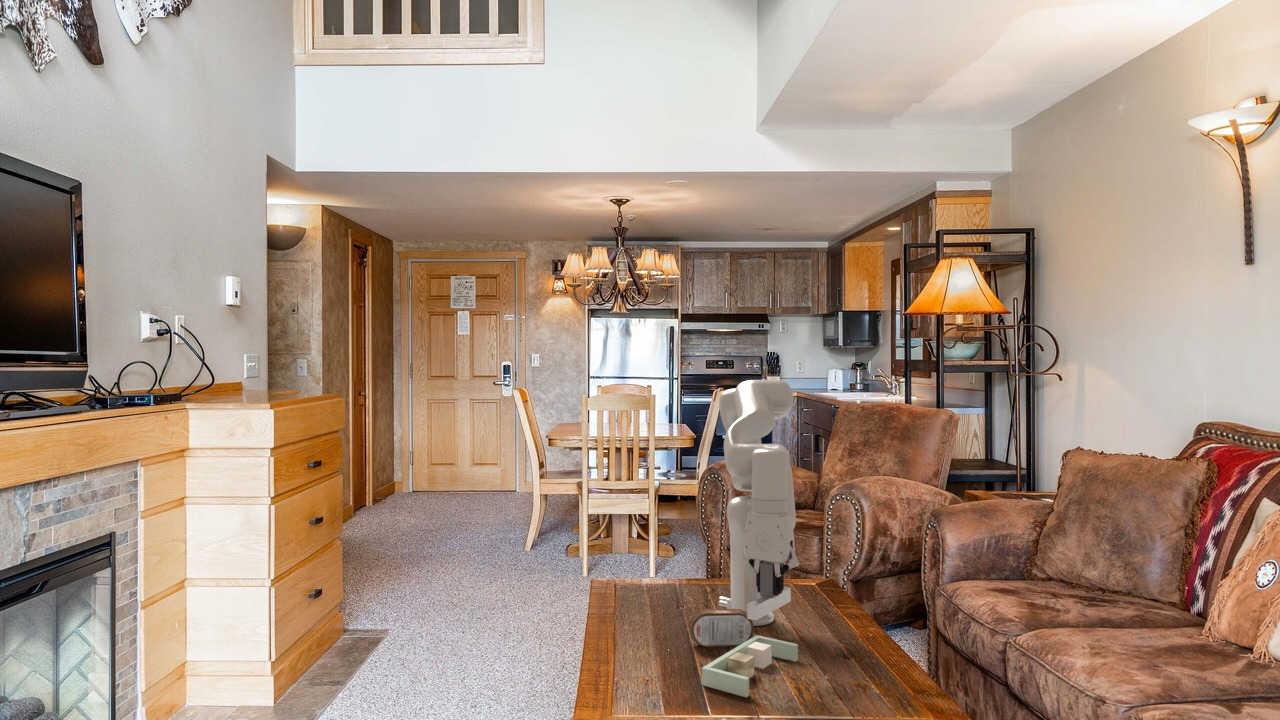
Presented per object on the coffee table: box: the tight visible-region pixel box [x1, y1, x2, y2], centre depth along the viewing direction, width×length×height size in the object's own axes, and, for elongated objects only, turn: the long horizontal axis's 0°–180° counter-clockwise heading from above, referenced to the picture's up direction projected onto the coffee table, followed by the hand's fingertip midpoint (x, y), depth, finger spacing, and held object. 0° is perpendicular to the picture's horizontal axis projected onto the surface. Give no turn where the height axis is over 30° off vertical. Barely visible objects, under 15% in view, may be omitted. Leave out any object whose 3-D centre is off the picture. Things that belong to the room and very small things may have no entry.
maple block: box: [728, 652, 755, 679], centre depth 162 cm, size 4×4×4 cm
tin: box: [688, 608, 755, 648], centre depth 180 cm, size 15×3×8 cm, turn 94°
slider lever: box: [747, 561, 792, 620], centre depth 165 cm, size 3×16×10 cm, turn 143°
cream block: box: [747, 642, 773, 670], centre depth 169 cm, size 4×4×4 cm
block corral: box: [701, 634, 799, 698], centre depth 164 cm, size 10×24×4 cm, turn 144°
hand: (769, 591), depth 165 cm, fingers closed on slider lever, 3 cm apart
